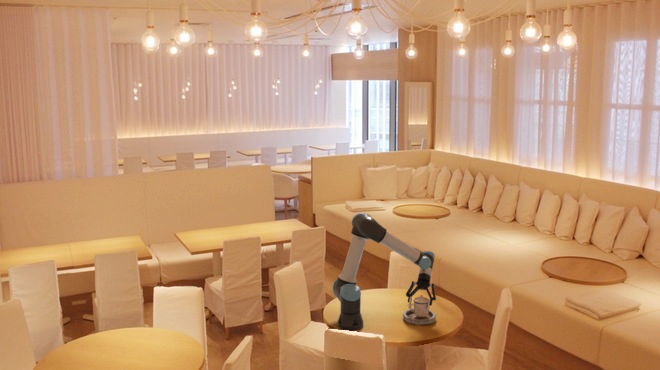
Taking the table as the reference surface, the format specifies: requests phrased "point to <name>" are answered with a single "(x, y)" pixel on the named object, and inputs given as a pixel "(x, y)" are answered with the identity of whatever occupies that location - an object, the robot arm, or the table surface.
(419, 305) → the teacup with lid
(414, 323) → the round grey tray
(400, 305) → the table surface
